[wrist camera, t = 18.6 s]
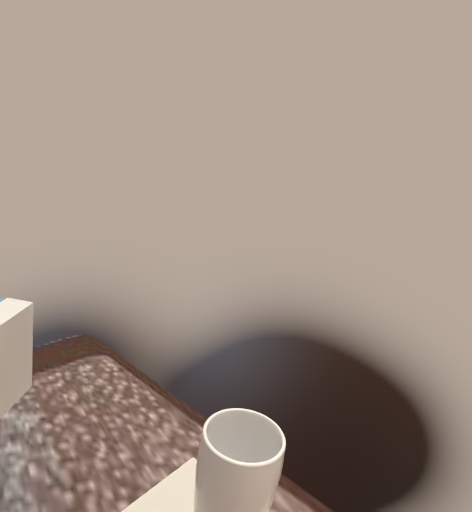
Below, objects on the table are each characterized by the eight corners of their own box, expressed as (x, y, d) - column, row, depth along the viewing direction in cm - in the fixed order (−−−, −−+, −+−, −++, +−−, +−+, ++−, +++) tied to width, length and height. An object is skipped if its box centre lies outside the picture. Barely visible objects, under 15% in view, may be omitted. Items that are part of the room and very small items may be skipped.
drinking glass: (250, 625, 36) (285, 475, 32) (169, 602, 37) (192, 453, 32) (259, 550, 42) (289, 417, 38) (190, 532, 43) (211, 399, 39)
